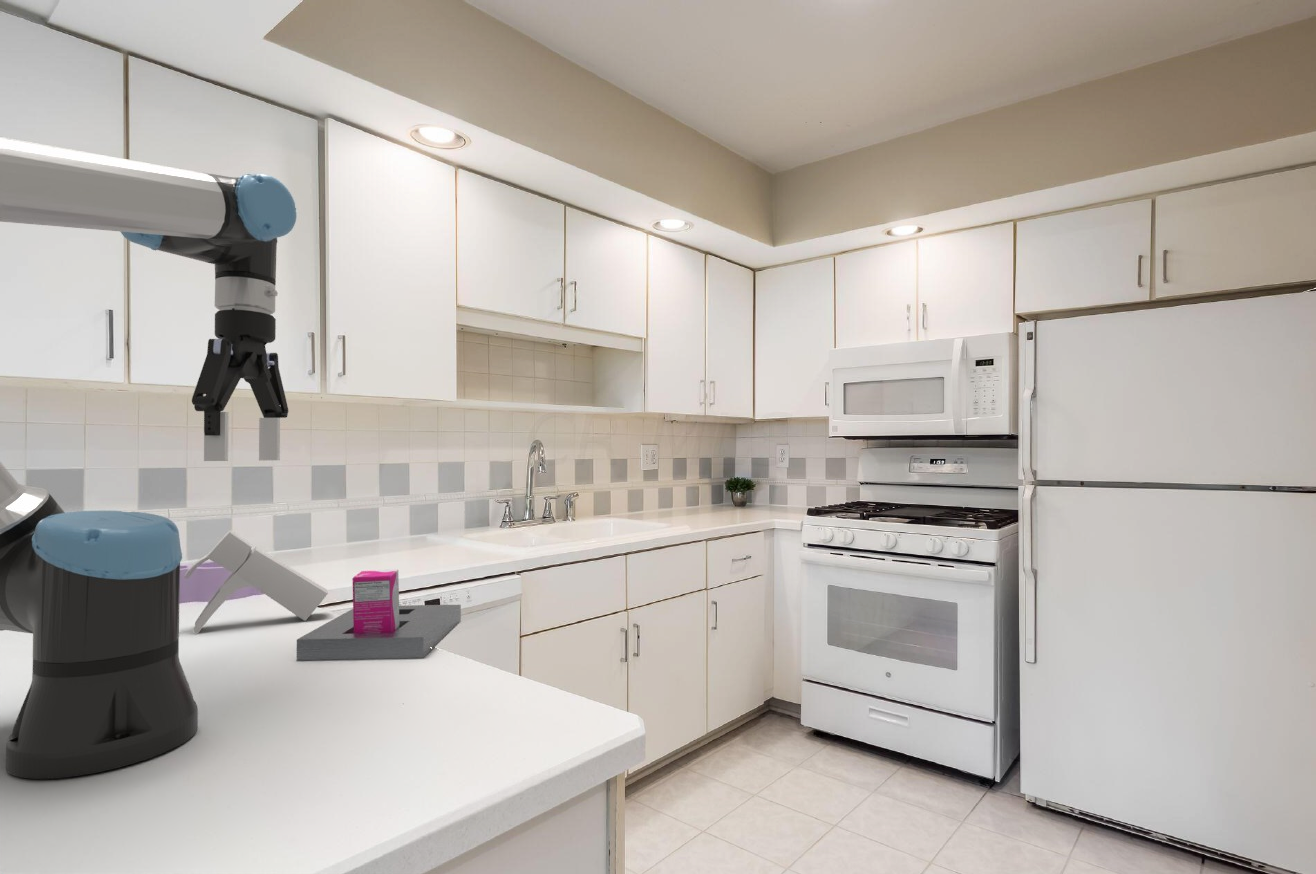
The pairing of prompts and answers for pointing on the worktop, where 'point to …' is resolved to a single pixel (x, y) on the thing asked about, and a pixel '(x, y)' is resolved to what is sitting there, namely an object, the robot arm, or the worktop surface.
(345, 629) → the socket plate
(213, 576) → the clip
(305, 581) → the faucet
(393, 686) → the worktop surface
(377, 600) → the supplement box
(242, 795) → the worktop surface
